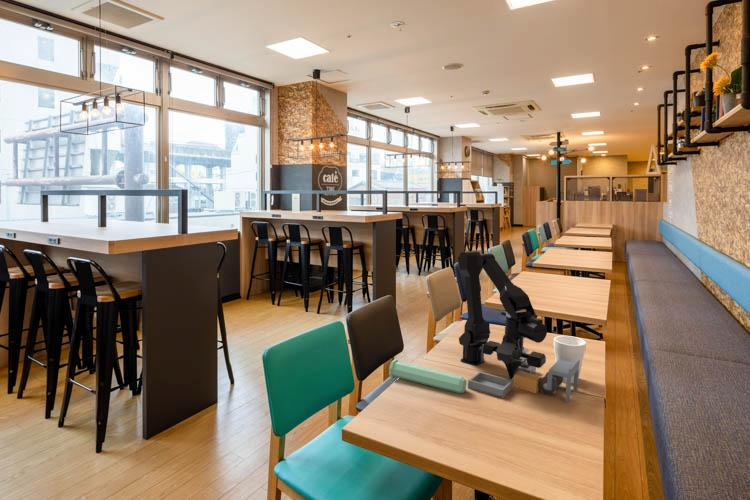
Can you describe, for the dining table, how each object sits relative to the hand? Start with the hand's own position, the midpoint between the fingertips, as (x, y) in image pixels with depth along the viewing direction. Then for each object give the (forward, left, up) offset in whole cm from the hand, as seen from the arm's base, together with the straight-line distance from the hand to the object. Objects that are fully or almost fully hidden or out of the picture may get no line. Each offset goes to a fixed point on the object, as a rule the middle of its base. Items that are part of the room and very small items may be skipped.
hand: (511, 379), depth 139 cm
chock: (+5, 0, -1) cm, 5 cm away
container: (-21, -17, -2) cm, 27 cm away
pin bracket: (0, +11, -1) cm, 11 cm away
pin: (0, +11, -1) cm, 11 cm away
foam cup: (+13, +14, -2) cm, 19 cm away
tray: (-4, -7, -1) cm, 8 cm away
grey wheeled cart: (+13, +3, -1) cm, 14 cm away
